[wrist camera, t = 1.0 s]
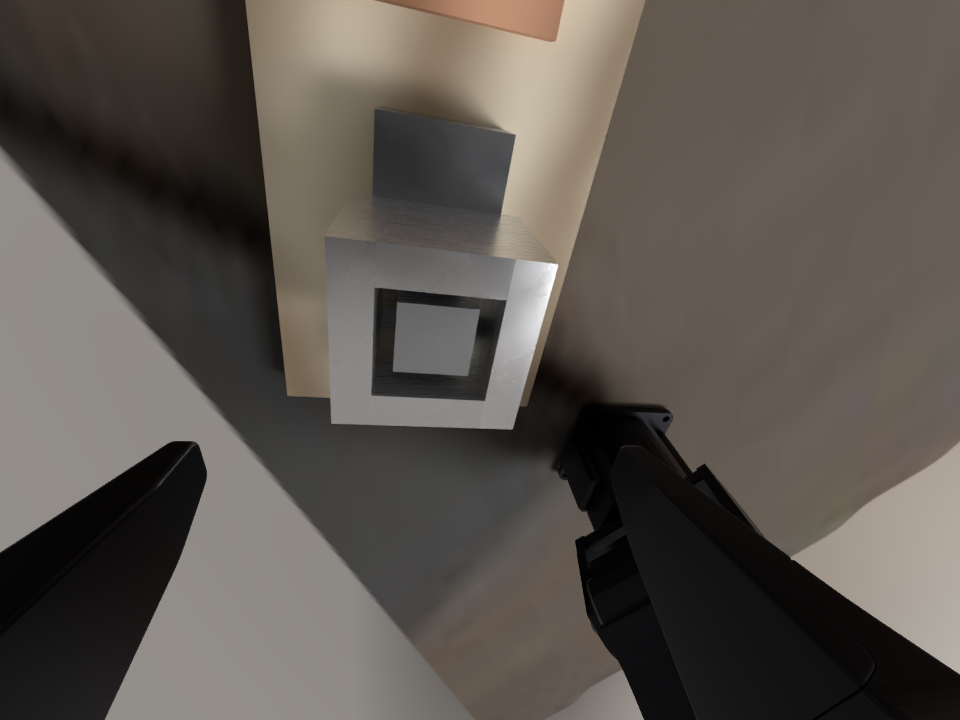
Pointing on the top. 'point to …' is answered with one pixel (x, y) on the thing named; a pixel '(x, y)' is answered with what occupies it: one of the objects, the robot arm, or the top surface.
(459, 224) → the steel collar
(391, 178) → the bench vise
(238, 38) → the top surface
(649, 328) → the top surface
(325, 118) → the board
